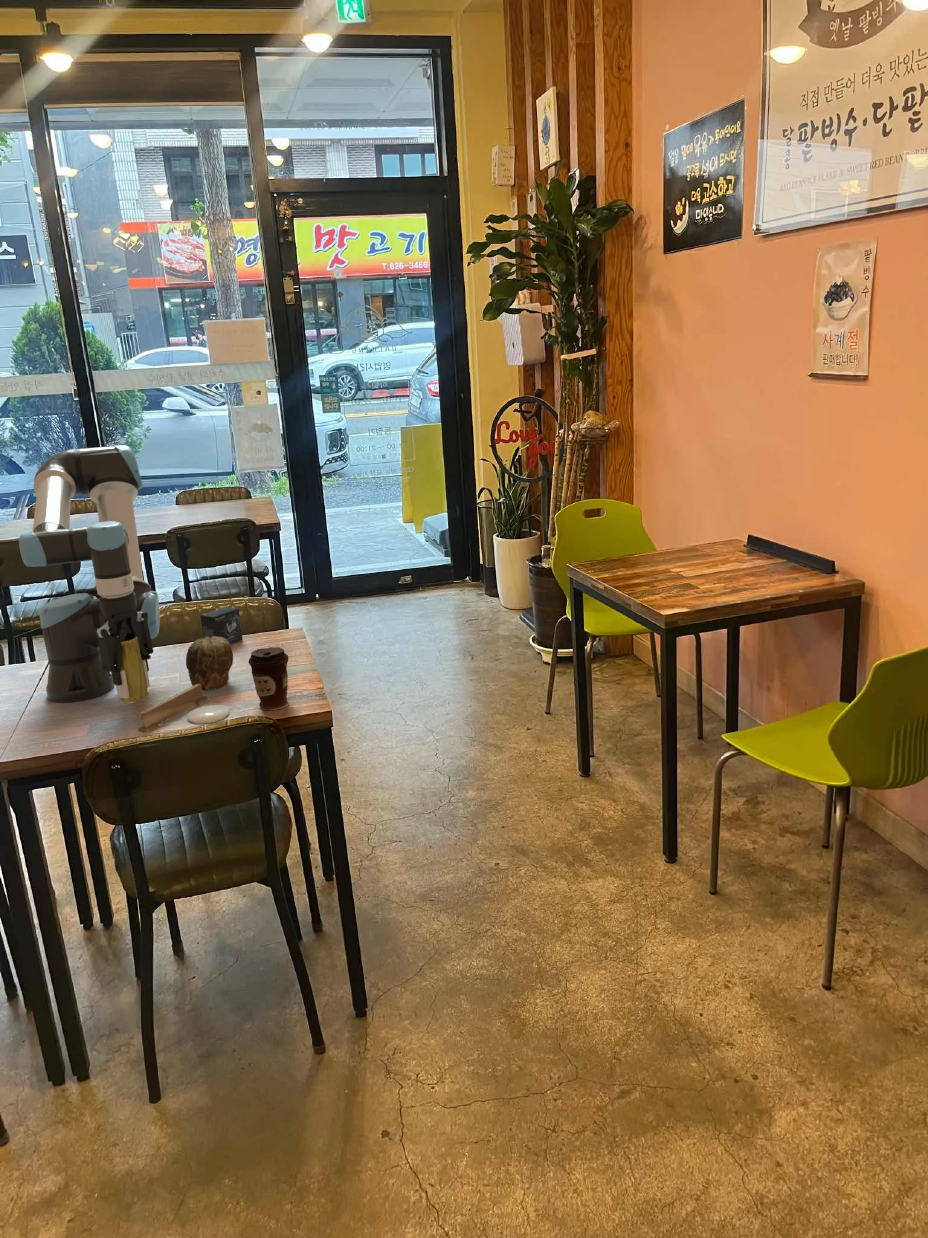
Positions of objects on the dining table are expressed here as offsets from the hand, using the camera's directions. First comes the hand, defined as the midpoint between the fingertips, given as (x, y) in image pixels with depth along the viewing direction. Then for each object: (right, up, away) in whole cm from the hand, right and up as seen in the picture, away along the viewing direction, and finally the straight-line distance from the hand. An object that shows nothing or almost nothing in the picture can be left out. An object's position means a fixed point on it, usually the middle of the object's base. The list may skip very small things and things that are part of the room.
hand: (134, 691), depth 202 cm
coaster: (+18, -5, -4) cm, 19 cm away
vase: (0, -2, 0) cm, 2 cm away
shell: (+14, 0, +15) cm, 20 cm away
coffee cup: (+32, -3, -1) cm, 32 cm away
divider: (+10, -5, -3) cm, 11 cm away
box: (+8, +9, +46) cm, 47 cm away
